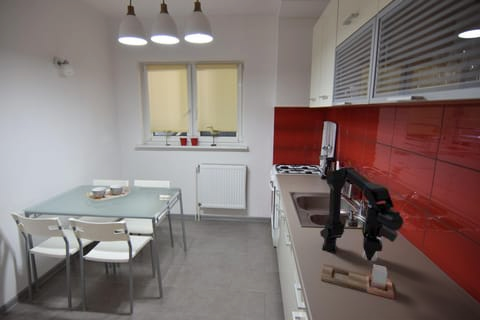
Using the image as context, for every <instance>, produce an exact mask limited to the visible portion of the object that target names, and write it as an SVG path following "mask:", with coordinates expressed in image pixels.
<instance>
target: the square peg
mask: <svg viewBox="0 0 480 320" xmlns="http://www.w3.org/2000/svg"><path fill="white" fill-rule="evenodd" d="M371 270H372V271H371V275H372V278H371V280H370V287H372V288H376V289H380V290H384V291H386V287H387V286H386V279H388V278H387V277H388V270H387V267H386V266H383V265H378V264H374V263H373V265H372V269H371Z"/></svg>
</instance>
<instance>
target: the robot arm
mask: <svg viewBox="0 0 480 320" xmlns="http://www.w3.org/2000/svg"><path fill="white" fill-rule="evenodd" d="M347 180H348V181H349V182H351V183H352V184H353V185H355V187H357V188H358V189H359V190H360V191H361V192H362V194H363V197H364V198H365V199H366V200H364V201H363V204H364V205H366V206H367V207H366V213H365V217H364V221H363V222H362V223H361V225H362V226H361V231H362V235H363V240H362V248H363V252H364V251H365V254H366V257H367V260H366V261H369V262H372V261H371V259H372V258H373V256H374V254H375V252H376V251H377V252H383V243H382V242H383V241H382V237H383V238H384V239H387V240H389V242H392V243H394V242H395V240H396V239H397V237H398V232H397V231H398V230H400V229H401V228H402V226H403V224H404V219H403V217H402V216H401V212H400V211H399V210H395V209H393V208H395V205H394V202H393V200H392V197H391V194H390V192H389V189H388V188H387V187H385V186H383V185H381V184H379V183H375V182H372V181H370V180H369V179H368V178H366V176H364V175H363V174H361V173H360V172H359V171H357V170H355V168H354V167H352V166H343V167H341V168H339V169H338V168H337V169H335V170H329V171H328V172H327V173H326V183H327V186H328V188H329V189H330V190H329V209H328V210H329V211H328V218H327V220H326V221H325V224H324V228H323V229H322V230H320V231H319V232H320V237H321V238H323V239H324V240H323V243H322V247H321V250H322V251H326V252H327V251H328V252H331V253H337V249H338V246H337V240H338V239H340V238H342V236H343V235H344V233H345V224H344V223H343V222H342V221H341V206H342V205H341V202H342V189H343V188H344V186H345V185H346V181H347ZM377 237H380V238H381V240H380V239H377Z"/></svg>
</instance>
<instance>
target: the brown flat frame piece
mask: <svg viewBox="0 0 480 320" xmlns="http://www.w3.org/2000/svg"><path fill="white" fill-rule="evenodd" d="M333 272H336V273H338V274H339V273H340V274H343V275H347V276H348V278H347V281H346V280H344V279H339V278H337V277H333V276H332V275H333ZM371 278H372V274H368V273H365V272H360V271H355V270H350V269H346V268H341V267H338V266H334V265H329V264H325V263H324V264H323V266H322V272H321V277H320V280H321V281H324V282H327V283H331V284H335V285H339V286H342V287H347V288H350V289H354V290H358V291H362V292H366V293H369V294H373V295H377V296H382V297H385V298H388V299H393V300H394V299H395V293H394V289H393V283H392V279H389V278H387V279H386V286H385V287H386V290H385V291H384V290H380V289H376V288H372V287H371V286H370V281H371Z"/></svg>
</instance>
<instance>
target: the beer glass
mask: <svg viewBox="0 0 480 320" xmlns="http://www.w3.org/2000/svg"><path fill="white" fill-rule="evenodd" d="M377 239H380V240H381V241H382V238H380V237H377ZM377 257H378V251H376V252H375V254H374V256H373V258H372V259H371V261H370V262H372V263H373V262H376V261H378V258H377ZM362 258H363V259H364V260H366V261H368V260H367V257H366V254H365V251H364V250H363V253H362Z"/></svg>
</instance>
